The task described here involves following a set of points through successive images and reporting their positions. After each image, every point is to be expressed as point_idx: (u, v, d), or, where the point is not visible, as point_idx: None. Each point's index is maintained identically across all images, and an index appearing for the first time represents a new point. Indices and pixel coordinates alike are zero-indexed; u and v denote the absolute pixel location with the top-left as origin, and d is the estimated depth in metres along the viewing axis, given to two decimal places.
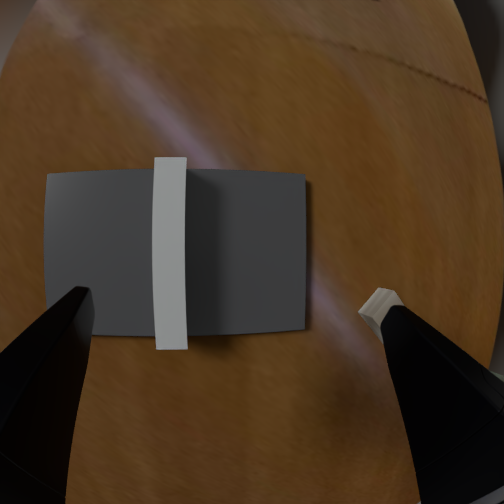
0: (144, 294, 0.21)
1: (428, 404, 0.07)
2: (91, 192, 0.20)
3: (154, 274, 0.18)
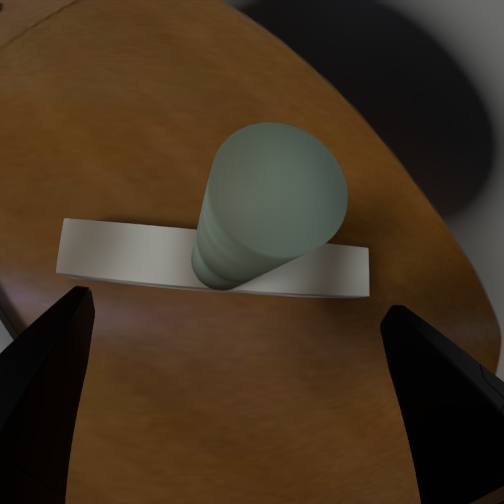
0: None
1: (428, 404, 0.07)
2: None
3: None
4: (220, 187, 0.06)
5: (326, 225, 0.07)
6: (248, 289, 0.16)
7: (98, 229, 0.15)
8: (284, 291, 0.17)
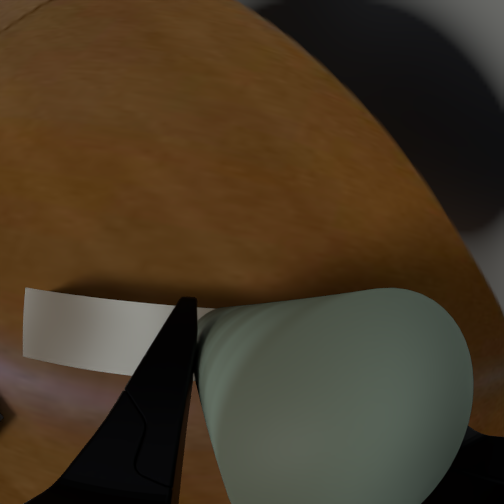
0: None
1: None
2: None
3: None
4: (248, 490, 0.02)
5: (430, 479, 0.03)
6: None
7: (67, 305, 0.11)
8: None
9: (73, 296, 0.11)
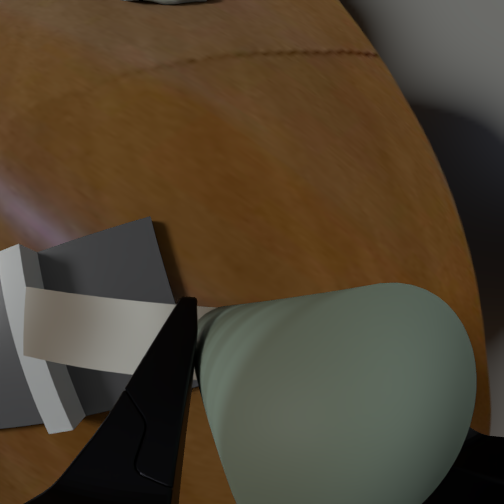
0: None
1: None
2: None
3: (22, 363, 0.14)
4: (253, 487, 0.02)
5: (434, 476, 0.03)
6: None
7: (68, 304, 0.11)
8: None
9: (74, 295, 0.11)
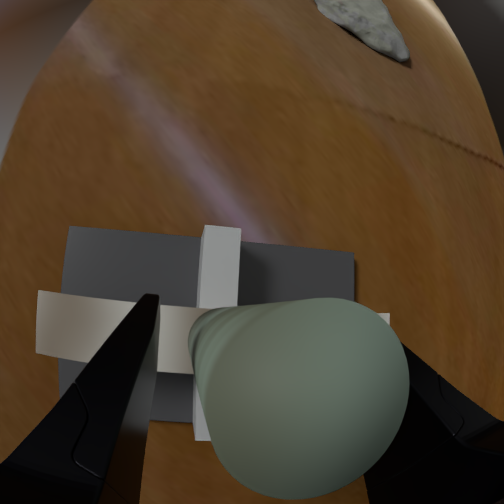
0: (178, 377, 0.18)
1: None
2: (121, 255, 0.18)
3: None
4: (224, 437, 0.03)
5: (373, 449, 0.04)
6: None
7: (77, 305, 0.12)
8: None
9: (83, 298, 0.12)
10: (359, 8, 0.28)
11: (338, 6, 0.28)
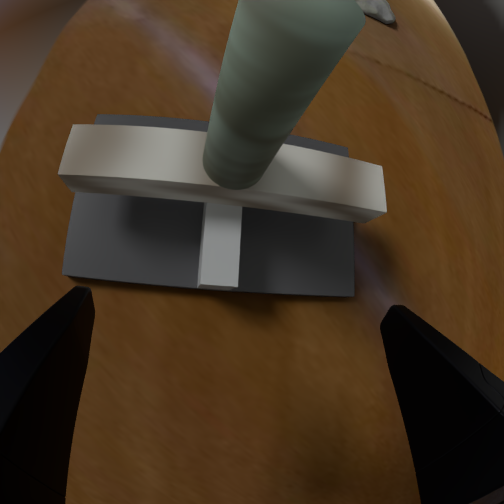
0: (185, 238, 0.19)
1: (428, 404, 0.07)
2: None
3: None
4: None
5: (349, 23, 0.06)
6: (262, 190, 0.15)
7: (107, 131, 0.14)
8: (300, 195, 0.15)
9: (113, 126, 0.14)
10: None
11: None
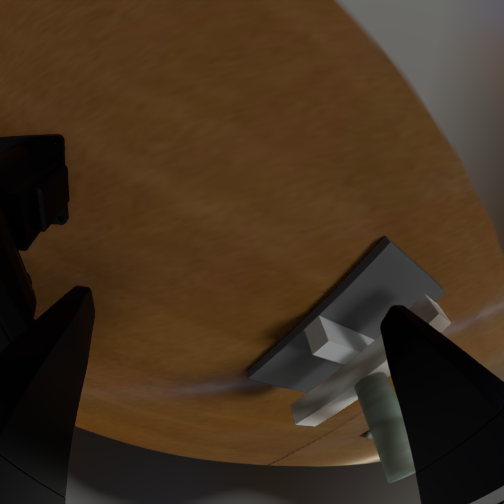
0: (347, 318, 0.28)
1: (428, 404, 0.07)
2: None
3: None
4: None
5: (391, 481, 0.17)
6: (349, 388, 0.25)
7: None
8: (334, 399, 0.26)
9: None
10: None
11: None
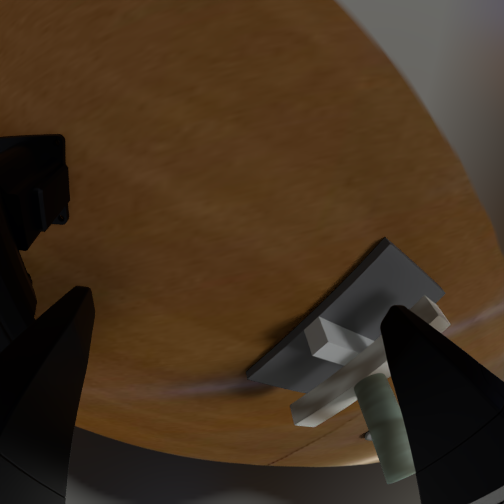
0: (347, 319, 0.28)
1: (428, 404, 0.07)
2: None
3: None
4: None
5: (390, 482, 0.17)
6: (349, 389, 0.25)
7: None
8: (333, 400, 0.26)
9: None
10: None
11: None
